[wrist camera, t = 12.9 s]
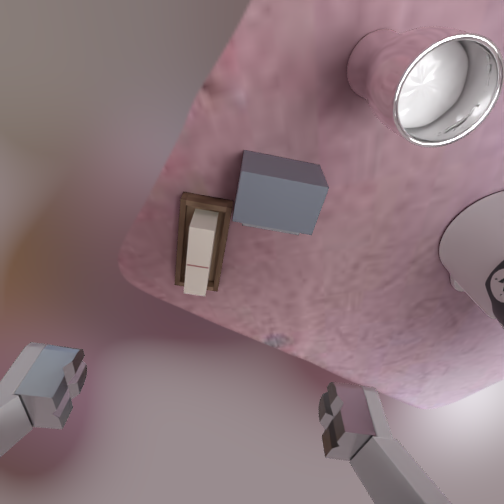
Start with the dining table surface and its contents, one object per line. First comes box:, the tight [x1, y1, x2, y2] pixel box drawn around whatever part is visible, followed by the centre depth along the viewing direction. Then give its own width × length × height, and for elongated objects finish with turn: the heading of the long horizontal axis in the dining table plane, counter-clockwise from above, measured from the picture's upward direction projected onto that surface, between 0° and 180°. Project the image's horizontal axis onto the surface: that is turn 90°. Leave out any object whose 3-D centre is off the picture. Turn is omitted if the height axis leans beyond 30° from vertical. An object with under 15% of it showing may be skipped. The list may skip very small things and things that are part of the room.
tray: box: [175, 192, 233, 291], centre depth 45 cm, size 6×14×2 cm, turn 169°
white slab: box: [184, 208, 219, 296], centre depth 43 cm, size 3×11×5 cm, turn 169°
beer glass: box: [347, 26, 504, 148], centre depth 26 cm, size 7×7×15 cm
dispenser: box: [233, 150, 329, 235], centre depth 37 cm, size 9×7×6 cm
